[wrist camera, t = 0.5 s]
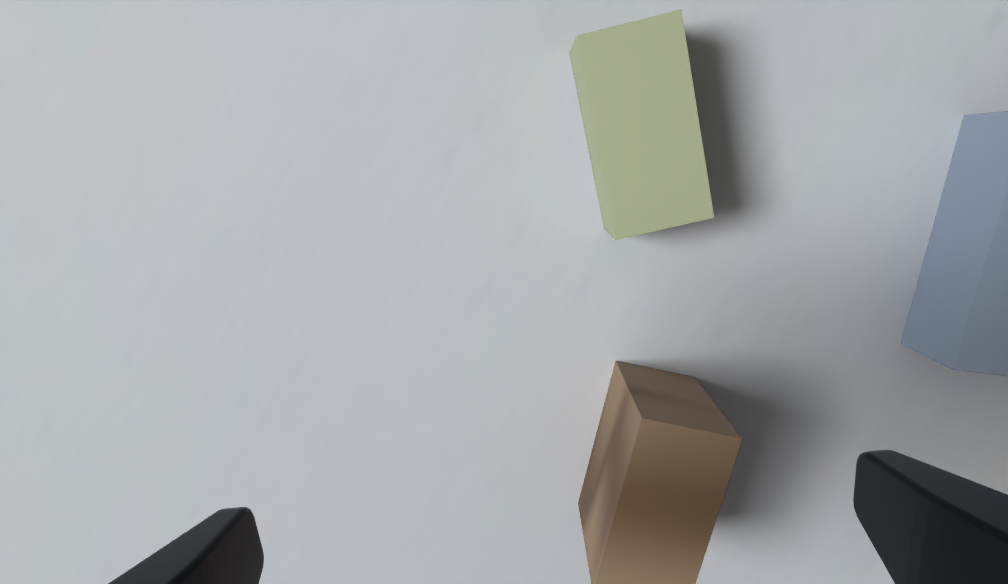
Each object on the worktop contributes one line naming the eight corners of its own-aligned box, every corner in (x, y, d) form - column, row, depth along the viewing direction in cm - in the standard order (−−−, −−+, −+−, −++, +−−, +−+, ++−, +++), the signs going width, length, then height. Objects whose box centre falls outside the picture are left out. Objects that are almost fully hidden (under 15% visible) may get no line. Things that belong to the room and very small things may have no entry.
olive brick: (687, 209, 21) (714, 217, 18) (603, 227, 21) (616, 239, 18) (657, 30, 20) (681, 9, 17) (568, 53, 20) (576, 36, 17)
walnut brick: (652, 516, 24) (686, 610, 19) (578, 501, 24) (592, 592, 19) (694, 376, 22) (742, 438, 18) (615, 360, 22) (642, 418, 17)
